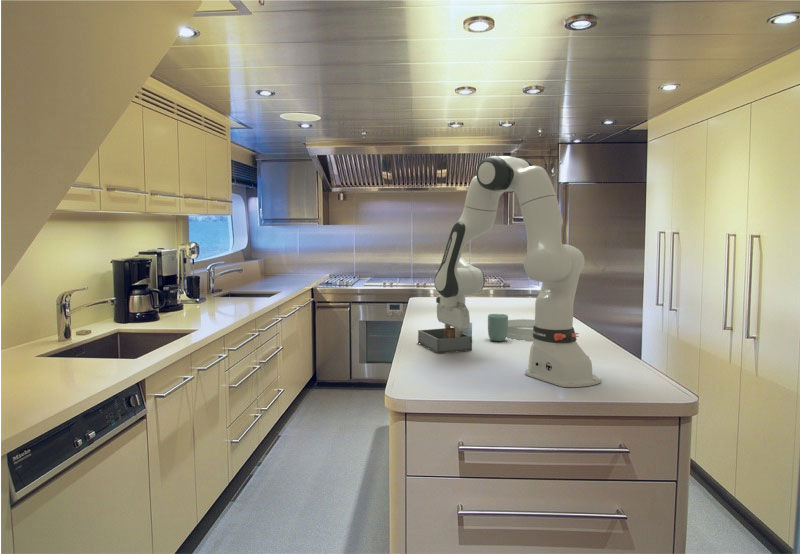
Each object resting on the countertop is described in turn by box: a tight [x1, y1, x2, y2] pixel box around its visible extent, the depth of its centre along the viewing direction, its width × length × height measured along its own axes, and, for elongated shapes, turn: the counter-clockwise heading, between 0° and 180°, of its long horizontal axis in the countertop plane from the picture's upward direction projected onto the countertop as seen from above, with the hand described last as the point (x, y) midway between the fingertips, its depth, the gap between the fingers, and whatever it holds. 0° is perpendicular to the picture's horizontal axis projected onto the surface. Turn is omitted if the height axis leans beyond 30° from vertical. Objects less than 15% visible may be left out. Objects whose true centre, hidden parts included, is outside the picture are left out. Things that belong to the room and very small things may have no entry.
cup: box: [487, 313, 509, 342], centre depth 205 cm, size 8×8×10 cm
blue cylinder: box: [462, 322, 473, 337], centre depth 205 cm, size 5×5×7 cm
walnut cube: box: [443, 327, 462, 338], centre depth 194 cm, size 5×5×5 cm
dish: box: [506, 318, 535, 342], centre depth 215 cm, size 22×22×5 cm
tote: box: [417, 327, 473, 354], centre depth 195 cm, size 18×14×5 cm
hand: (452, 337), depth 194 cm, fingers closed on walnut cube, 5 cm apart
